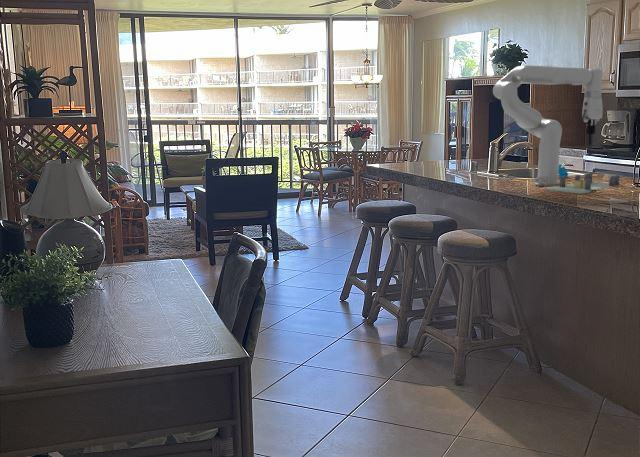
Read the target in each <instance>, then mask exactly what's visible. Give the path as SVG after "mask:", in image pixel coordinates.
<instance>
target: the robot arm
mask: <svg viewBox="0 0 640 457" xmlns="http://www.w3.org/2000/svg"><path fill="white" fill-rule="evenodd" d="M522 84H527V85H528V84H529V85H548V86H549V85H553V86H554V85H572V86H581V85H582V86H584V96H583V97H584V98H583V103H582V112H581V116H582V117H581V118H582V120H583V122H584V123H586V127H587V128H586V134H587V135H595V134H596V126H597V123H598V122H600V119H602V118H603V110H604V108H603V98H602V88H603V69H600V68H590V69H588V68H584V67H564V66H563V67H561V66H552V65H551V66H550V65H549V66H548V65H530V64H528V65H527V64H526V65H525V64H523V65H518V66H515V67H514V68H513V69H511V70H510V71H509V72H508V73H507V74H506V75H505V76H503V77H502V78H500V80H498V81H497V82H496V83H495V84H494V85H493V87H492V94H493V96H494V97H495V98H496V99H498V100H500V102H501V103H500V104H501V107H502V109H503V111H504V112H505V114H507V115H508V116H509V117H511V118H513V119H514V120H515V123H516V124H517V125H518V127H520V128H521V129H523V130H524V131H526V132H528V133H530V134H531V135H533V136H535V137H537V138H538V139H539V140H540V141H539V145H538V158H537V159H538V160H537V161H538V163H537V164H538V165H537V175H536V177H535V178H532V183H533V185H535V186H541V187H549V186H555V185H560V181H559V174H558V169H559V164H560V149H561V148H560V146H561V140H562V139H561V138H562V134H563V127H562V125H561V123H560V122H559V121H558V120H555V119H550V118H545V117H543V116H542V113H540V112H539V111H538V110H537V109H535V108H533V107H531V106H529V105H528V104H526V103H525V102H523V101H522V100H521V99H520V97H519V96H518V88H519V87H520V86H521V85H522Z"/></svg>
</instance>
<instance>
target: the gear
mask: <svg viewBox="0 0 640 457" xmlns="http://www.w3.org/2000/svg"><path fill="white" fill-rule="evenodd" d="M568 175H569V169H566V167H565V166H563V167H562V164H560V163H559V169H558V178H560V177H566V179H567V178H568Z"/></svg>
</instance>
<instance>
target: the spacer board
mask: <svg viewBox="0 0 640 457" xmlns="http://www.w3.org/2000/svg"><path fill="white" fill-rule="evenodd" d="M620 176H621V175H620V174H614V175H609V179H608V183H606V182H597V181H596V182H595V181H593V172H587V173H584V174H583V180H585V188H574V182H573V183H569V184H566V179H567V178H566V177H563V176H562V177H559V182H560V184H559V185H553V186H546V187H545V191H553V192H554V191H555V192H561V193H562V192H563V193H571V194H586V193H587V194H588V193H593V192H594V193H595V192H597V190H598V189H604V188H610V187H611V188H612V187H615V186H616V187H617V186H620ZM575 180H581V175H580V174H575V175H574V181H575Z"/></svg>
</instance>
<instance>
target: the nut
mask: <svg viewBox="0 0 640 457" xmlns="http://www.w3.org/2000/svg"><path fill="white" fill-rule="evenodd" d="M573 183H574V188H585V180H584V179H582V180H581V179H580V180H575V179H574V180H573Z"/></svg>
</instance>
